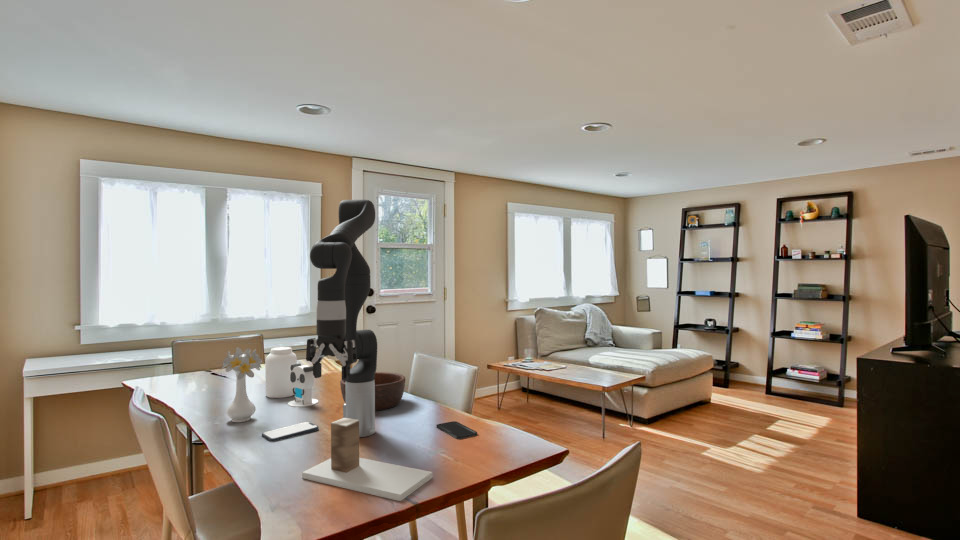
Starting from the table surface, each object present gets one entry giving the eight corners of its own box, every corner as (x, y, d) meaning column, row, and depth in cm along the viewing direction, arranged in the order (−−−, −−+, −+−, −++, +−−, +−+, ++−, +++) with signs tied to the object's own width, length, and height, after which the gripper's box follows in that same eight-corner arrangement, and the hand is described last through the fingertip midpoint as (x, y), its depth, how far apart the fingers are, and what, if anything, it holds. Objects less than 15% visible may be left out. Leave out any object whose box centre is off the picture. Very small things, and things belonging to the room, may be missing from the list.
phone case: (271, 444, 154) (320, 431, 165) (271, 439, 154) (320, 426, 165) (260, 437, 160) (307, 425, 171) (260, 432, 160) (307, 420, 171)
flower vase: (232, 430, 165) (232, 354, 165) (214, 418, 178) (214, 348, 178) (272, 421, 174) (271, 350, 174) (252, 411, 188) (252, 344, 188)
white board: (302, 478, 127) (302, 472, 127) (339, 459, 140) (339, 453, 140) (400, 501, 114) (400, 494, 114) (432, 477, 127) (432, 472, 127)
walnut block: (331, 469, 129) (330, 422, 129) (344, 462, 133) (344, 417, 133) (346, 472, 127) (346, 425, 126) (359, 465, 131) (359, 419, 131)
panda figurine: (281, 403, 199) (281, 365, 199) (307, 397, 207) (307, 361, 207) (297, 408, 191) (297, 369, 191) (323, 402, 199) (323, 364, 199)
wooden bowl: (345, 417, 180) (345, 388, 180) (336, 400, 203) (336, 375, 203) (413, 408, 190) (412, 381, 190) (396, 393, 213) (396, 369, 213)
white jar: (302, 394, 212) (302, 347, 212) (273, 400, 203) (273, 351, 203) (289, 389, 221) (288, 344, 221) (260, 395, 212) (260, 347, 212)
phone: (455, 420, 172) (478, 432, 159) (455, 424, 172) (478, 436, 159) (434, 424, 168) (457, 437, 155) (434, 428, 168) (457, 440, 155)
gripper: (362, 317, 134) (362, 377, 134) (317, 315, 139) (317, 374, 138) (346, 319, 127) (346, 383, 127) (299, 317, 131) (299, 379, 131)
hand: (331, 378), depth 133 cm, fingers open, 8 cm apart
